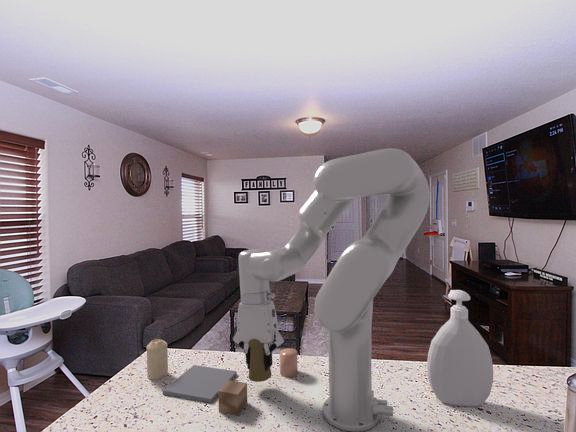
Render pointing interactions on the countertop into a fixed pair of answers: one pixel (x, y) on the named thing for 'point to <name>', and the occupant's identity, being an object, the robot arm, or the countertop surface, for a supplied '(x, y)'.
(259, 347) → the olive tall rounded piece
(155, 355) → the candle
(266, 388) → the countertop surface
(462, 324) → the soap bottle
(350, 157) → the robot arm
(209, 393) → the slate tile
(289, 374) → the peach blob
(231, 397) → the walnut block
